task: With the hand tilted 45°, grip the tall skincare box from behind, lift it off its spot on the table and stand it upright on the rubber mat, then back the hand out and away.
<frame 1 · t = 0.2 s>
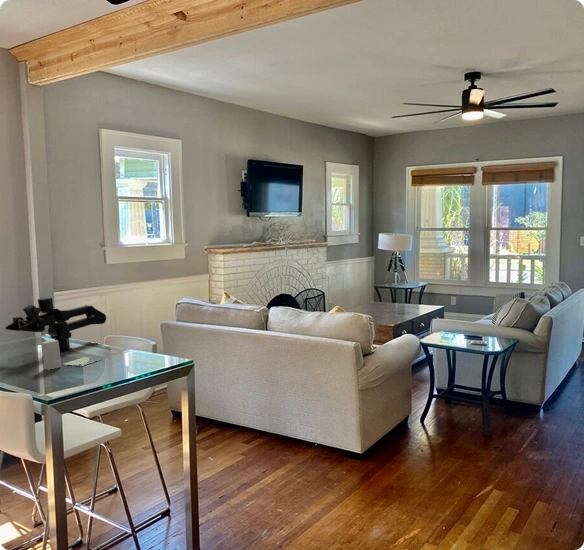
hand: (12, 328, 247), 17 cm above the table, tool horizontal, fingers open, 9 cm apart
skincare box: (53, 368, 239), on the table
mat: (82, 362, 246), on the table
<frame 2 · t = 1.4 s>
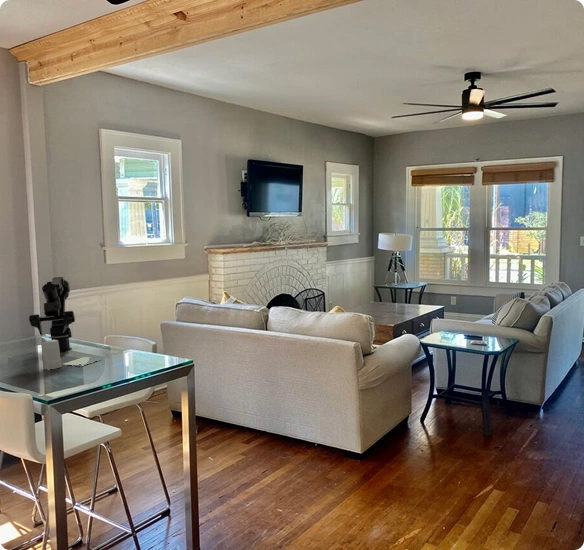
hand: (51, 333, 246), 14 cm above the table, tool tilted 45°, fingers open, 9 cm apart
nothing on the table moved.
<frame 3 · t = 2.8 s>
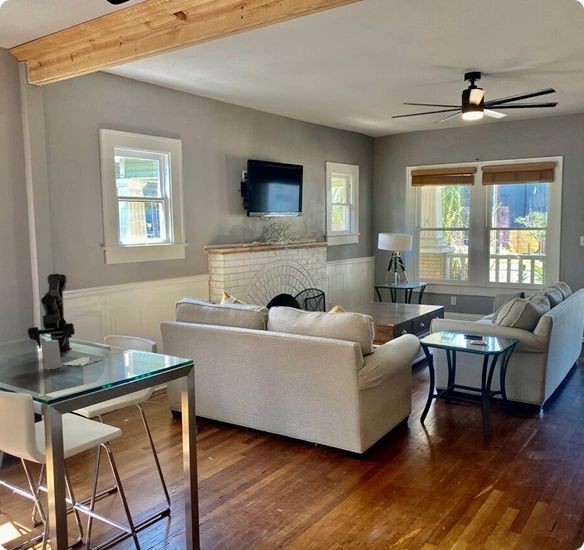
hand: (51, 346, 240), 9 cm above the table, tool tilted 45°, fingers open, 9 cm apart
nothing on the table moved.
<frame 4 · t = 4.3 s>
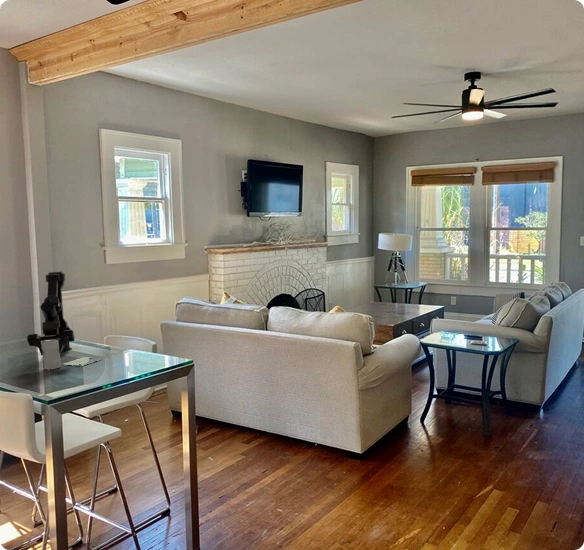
hand: (50, 354, 237), 7 cm above the table, tool tilted 45°, fingers closed on skincare box, 7 cm apart
skincare box: (53, 368, 239), on the table, touching gripper
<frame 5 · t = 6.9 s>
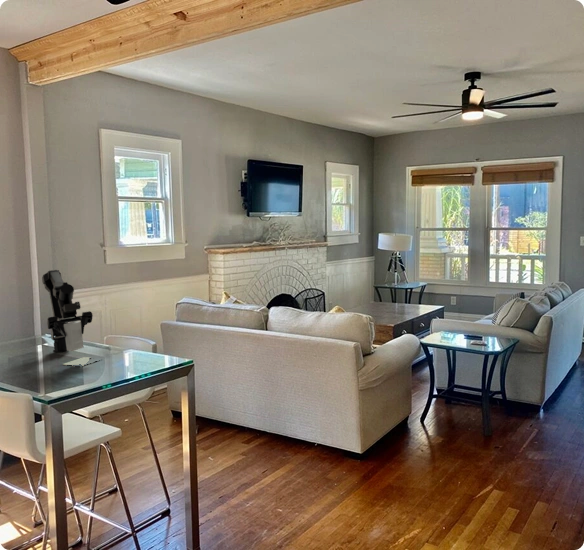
hand: (74, 335, 241), 13 cm above the table, tool tilted 45°, fingers closed on skincare box, 7 cm apart
skincare box: (75, 349, 243), point 6 cm above the table, touching gripper
when the fingers open (8 cm above the table, at t = 9.3 s): skincare box drops 1 cm, resting on mat.
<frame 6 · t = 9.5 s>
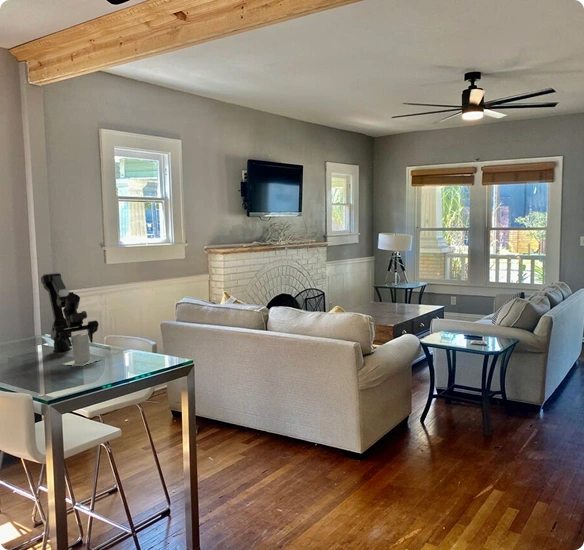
hand: (81, 344, 244), 9 cm above the table, tool tilted 45°, fingers open, 9 cm apart
skincare box: (82, 361, 246), resting on mat
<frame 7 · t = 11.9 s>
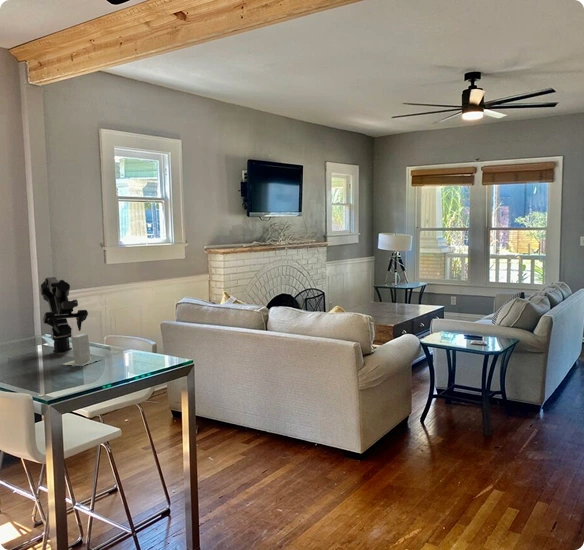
hand: (69, 331, 250), 13 cm above the table, tool tilted 40°, fingers open, 9 cm apart
nothing on the table moved.
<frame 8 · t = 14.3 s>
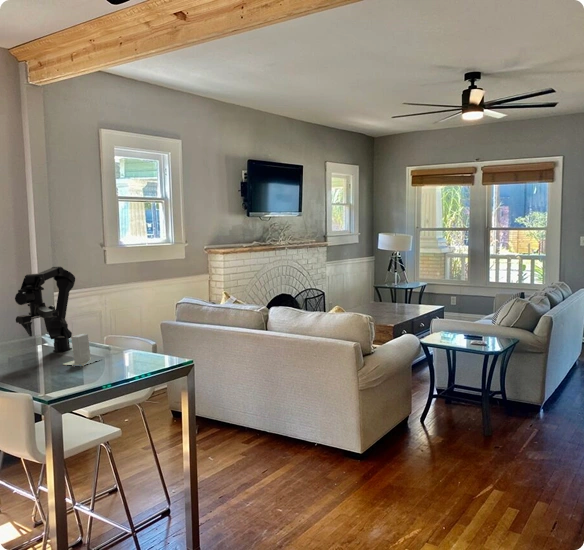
hand: (39, 334, 255), 12 cm above the table, tool pointing down, fingers open, 9 cm apart
nothing on the table moved.
at the end: skincare box inside the target area on the mat (0.2 cm from its centre), point 0.2 cm above the mat's base; skincare box tilted 0°; the gripper is holding nothing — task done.
